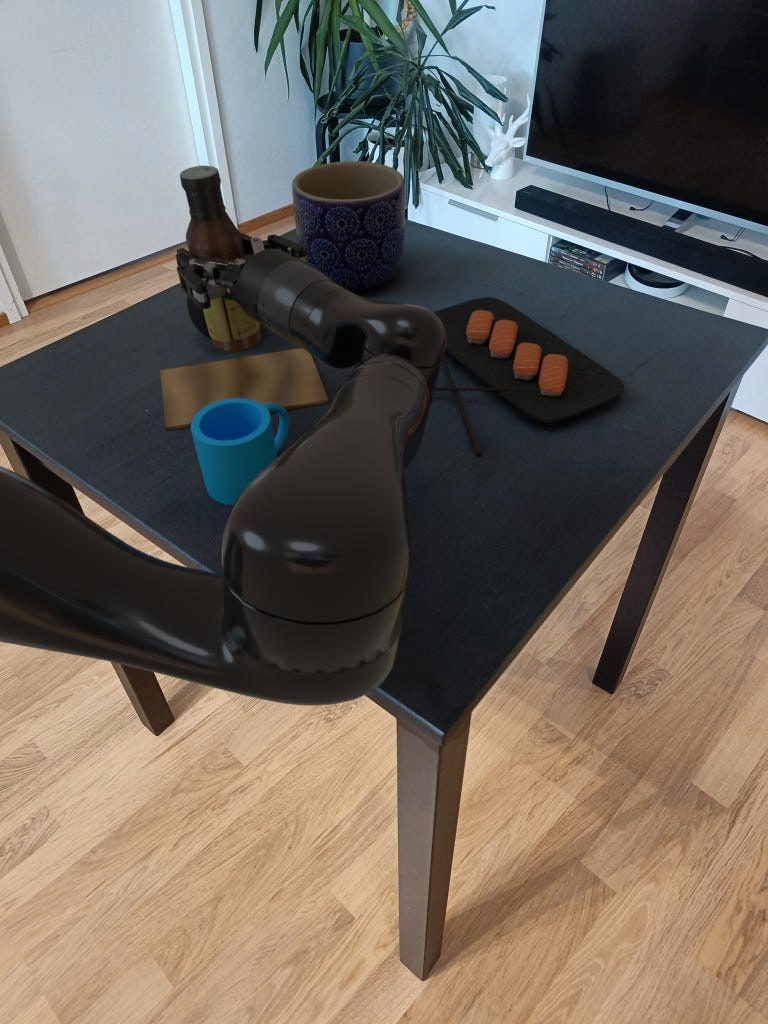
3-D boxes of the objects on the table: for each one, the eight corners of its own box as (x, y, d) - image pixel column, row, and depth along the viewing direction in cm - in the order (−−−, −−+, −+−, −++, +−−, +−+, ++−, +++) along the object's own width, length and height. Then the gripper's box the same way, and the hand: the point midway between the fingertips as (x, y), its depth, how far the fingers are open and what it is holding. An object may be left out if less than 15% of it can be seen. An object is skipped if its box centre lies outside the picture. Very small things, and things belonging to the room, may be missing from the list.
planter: (297, 303, 108) (285, 202, 97) (305, 255, 120) (295, 161, 109) (406, 300, 108) (406, 200, 97) (403, 253, 119) (403, 159, 109)
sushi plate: (632, 401, 88) (639, 375, 86) (430, 486, 78) (431, 459, 75) (491, 304, 106) (493, 280, 104) (311, 362, 96) (309, 337, 93)
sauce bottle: (264, 327, 89) (238, 159, 76) (260, 353, 85) (232, 179, 71) (212, 330, 89) (176, 161, 76) (205, 356, 85) (166, 182, 71)
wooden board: (166, 430, 85) (165, 427, 85) (161, 373, 95) (160, 370, 94) (328, 402, 89) (328, 399, 89) (308, 349, 98) (308, 346, 98)
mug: (243, 516, 75) (230, 456, 69) (190, 486, 78) (173, 426, 73) (317, 456, 81) (311, 397, 76) (265, 431, 85) (256, 373, 79)
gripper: (345, 242, 72) (255, 197, 81) (223, 287, 66) (140, 233, 75) (350, 309, 77) (265, 260, 87) (237, 358, 71) (158, 299, 80)
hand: (207, 248), depth 81 cm, fingers closed on sauce bottle, 6 cm apart
